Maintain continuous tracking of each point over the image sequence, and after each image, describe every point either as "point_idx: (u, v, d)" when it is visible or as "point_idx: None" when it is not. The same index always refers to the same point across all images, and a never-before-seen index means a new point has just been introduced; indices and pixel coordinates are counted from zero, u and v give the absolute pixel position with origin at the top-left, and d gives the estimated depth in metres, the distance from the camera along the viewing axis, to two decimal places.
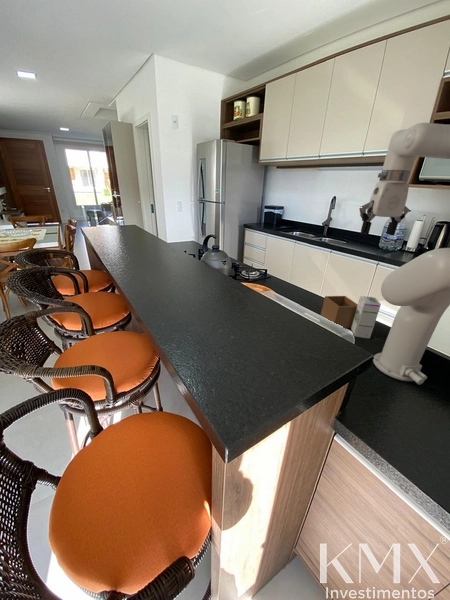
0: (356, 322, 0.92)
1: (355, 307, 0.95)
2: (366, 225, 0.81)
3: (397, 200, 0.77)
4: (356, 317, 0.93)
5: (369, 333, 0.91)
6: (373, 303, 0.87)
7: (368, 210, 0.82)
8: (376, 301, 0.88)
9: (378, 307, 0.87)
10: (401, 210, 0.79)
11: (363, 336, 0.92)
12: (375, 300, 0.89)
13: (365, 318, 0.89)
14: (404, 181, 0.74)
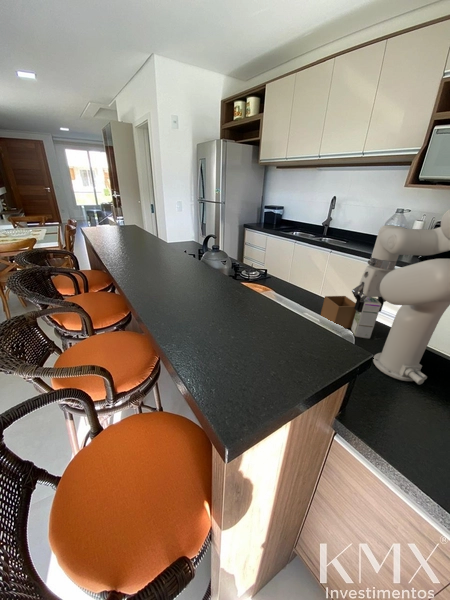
0: (356, 322, 0.92)
1: None
2: (359, 304, 0.88)
3: None
4: (356, 317, 0.93)
5: (369, 333, 0.91)
6: (373, 303, 0.87)
7: None
8: (376, 301, 0.88)
9: (378, 307, 0.87)
10: None
11: (363, 336, 0.92)
12: (375, 300, 0.89)
13: (365, 318, 0.89)
14: (391, 269, 0.81)
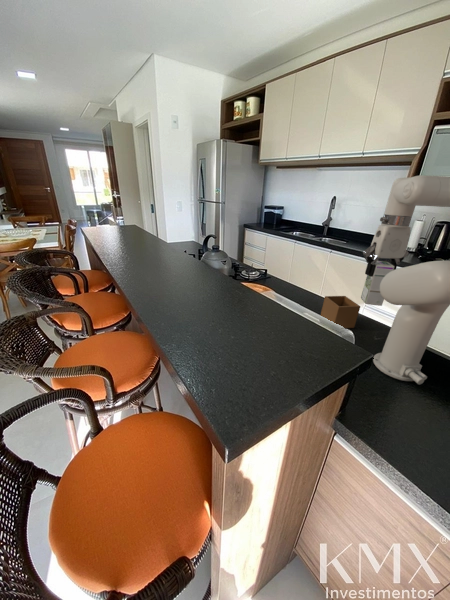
0: (367, 288, 0.86)
1: (355, 307, 0.95)
2: (370, 267, 0.82)
3: (399, 243, 0.78)
4: (367, 283, 0.87)
5: (381, 300, 0.85)
6: (386, 265, 0.81)
7: None
8: (389, 264, 0.82)
9: (391, 270, 0.81)
10: (403, 252, 0.80)
11: (374, 303, 0.86)
12: (388, 263, 0.83)
13: (377, 283, 0.84)
14: (406, 226, 0.75)
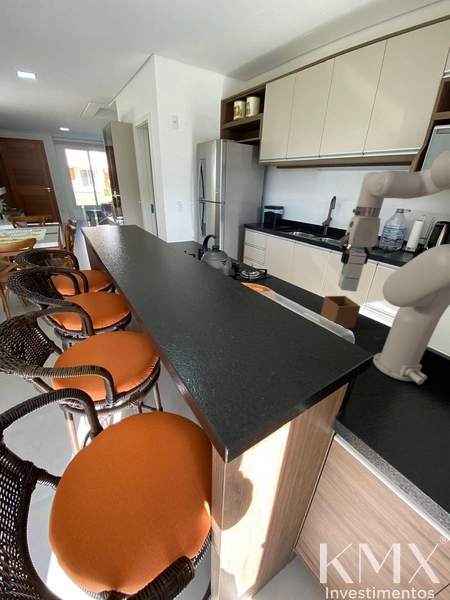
0: (343, 275, 0.94)
1: (355, 307, 0.95)
2: (345, 256, 0.90)
3: (370, 233, 0.85)
4: (343, 270, 0.94)
5: (355, 286, 0.93)
6: (359, 254, 0.88)
7: (345, 240, 0.90)
8: (362, 252, 0.89)
9: (364, 258, 0.88)
10: (374, 241, 0.87)
11: (349, 289, 0.94)
12: (361, 252, 0.90)
13: (351, 270, 0.91)
14: (375, 217, 0.82)
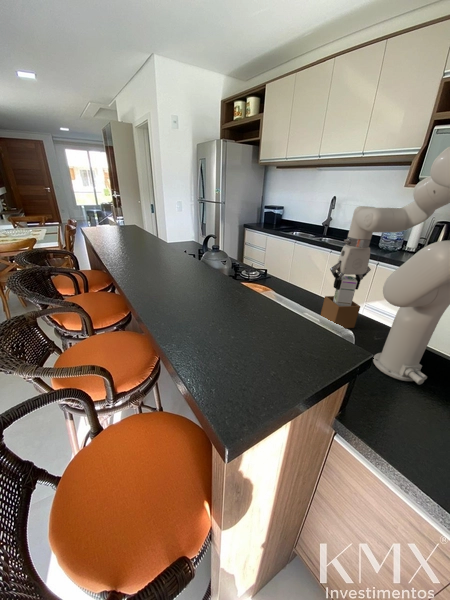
0: (335, 299, 0.98)
1: (355, 307, 0.95)
2: (337, 282, 0.94)
3: (361, 261, 0.90)
4: (335, 295, 0.99)
5: None
6: (350, 280, 0.93)
7: None
8: (353, 279, 0.94)
9: (355, 284, 0.93)
10: (365, 269, 0.91)
11: None
12: (352, 278, 0.95)
13: (343, 295, 0.95)
14: (365, 247, 0.87)
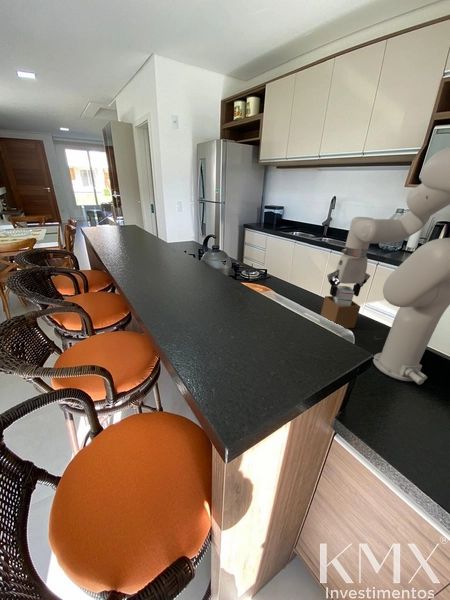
0: None
1: (355, 307, 0.95)
2: (333, 289, 0.95)
3: (358, 271, 0.91)
4: None
5: None
6: (347, 291, 0.94)
7: (335, 276, 0.96)
8: (350, 289, 0.96)
9: (352, 295, 0.95)
10: (362, 278, 0.93)
11: None
12: (349, 289, 0.96)
13: (340, 305, 0.97)
14: (362, 257, 0.88)
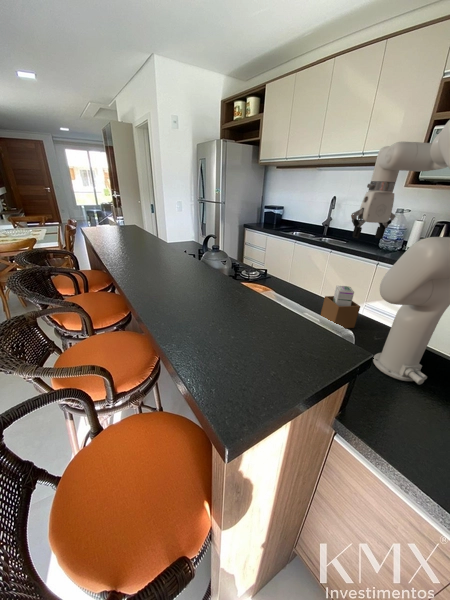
0: None
1: (355, 307, 0.95)
2: (357, 230, 0.90)
3: (384, 208, 0.86)
4: None
5: None
6: (347, 291, 0.94)
7: (359, 216, 0.91)
8: (350, 289, 0.96)
9: (352, 295, 0.95)
10: (388, 216, 0.88)
11: None
12: (349, 289, 0.96)
13: (340, 305, 0.97)
14: (390, 191, 0.83)
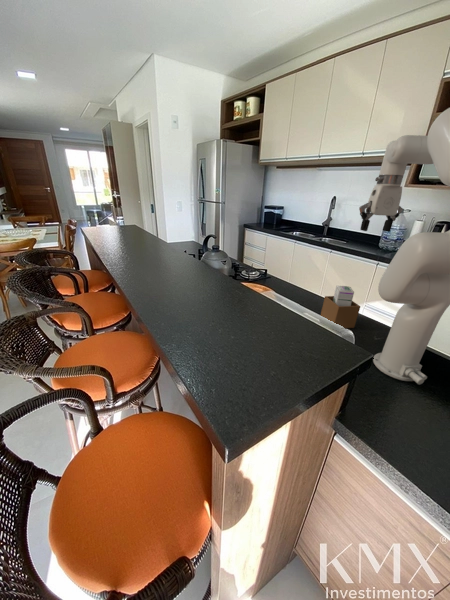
0: None
1: (355, 307, 0.95)
2: (365, 222, 0.92)
3: (392, 201, 0.88)
4: None
5: None
6: (347, 291, 0.94)
7: (367, 209, 0.93)
8: (350, 289, 0.96)
9: (352, 295, 0.95)
10: (396, 209, 0.90)
11: None
12: (349, 289, 0.96)
13: (340, 305, 0.97)
14: (398, 184, 0.85)
